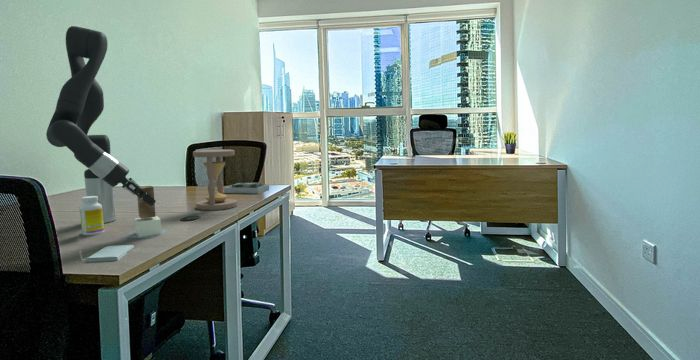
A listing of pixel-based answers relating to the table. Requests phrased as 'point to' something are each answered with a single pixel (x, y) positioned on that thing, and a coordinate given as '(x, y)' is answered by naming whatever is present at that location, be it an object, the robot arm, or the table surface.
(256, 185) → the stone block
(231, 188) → the grey organizer frame
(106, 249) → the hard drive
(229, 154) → the hourglass
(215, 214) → the table surface
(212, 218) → the table surface
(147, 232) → the cream block
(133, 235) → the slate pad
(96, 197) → the supplement bottle
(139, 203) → the walnut pillar
